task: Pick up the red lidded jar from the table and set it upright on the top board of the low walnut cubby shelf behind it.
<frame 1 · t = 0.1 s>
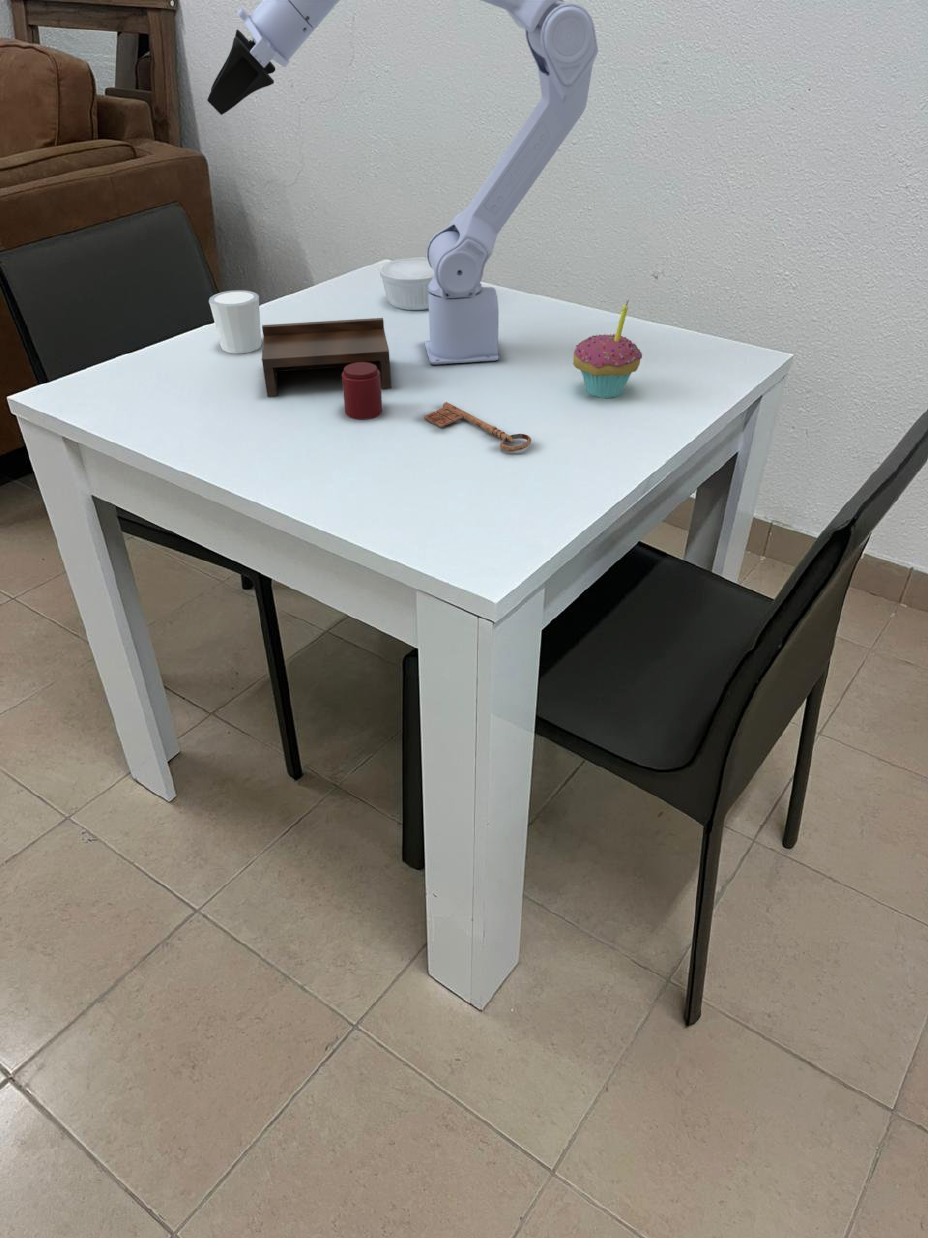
hand: (215, 101, 107), 32 cm above the table, tool tilted 50°, fingers open, 7 cm apart
ramekin: (416, 302, 147), on the table
white cup: (241, 347, 133), on the table
cupcake: (603, 392, 119), on the table
red lidded jar: (363, 411, 115), on the table
shelf: (328, 378, 123), on the table
key: (477, 432, 110), on the table
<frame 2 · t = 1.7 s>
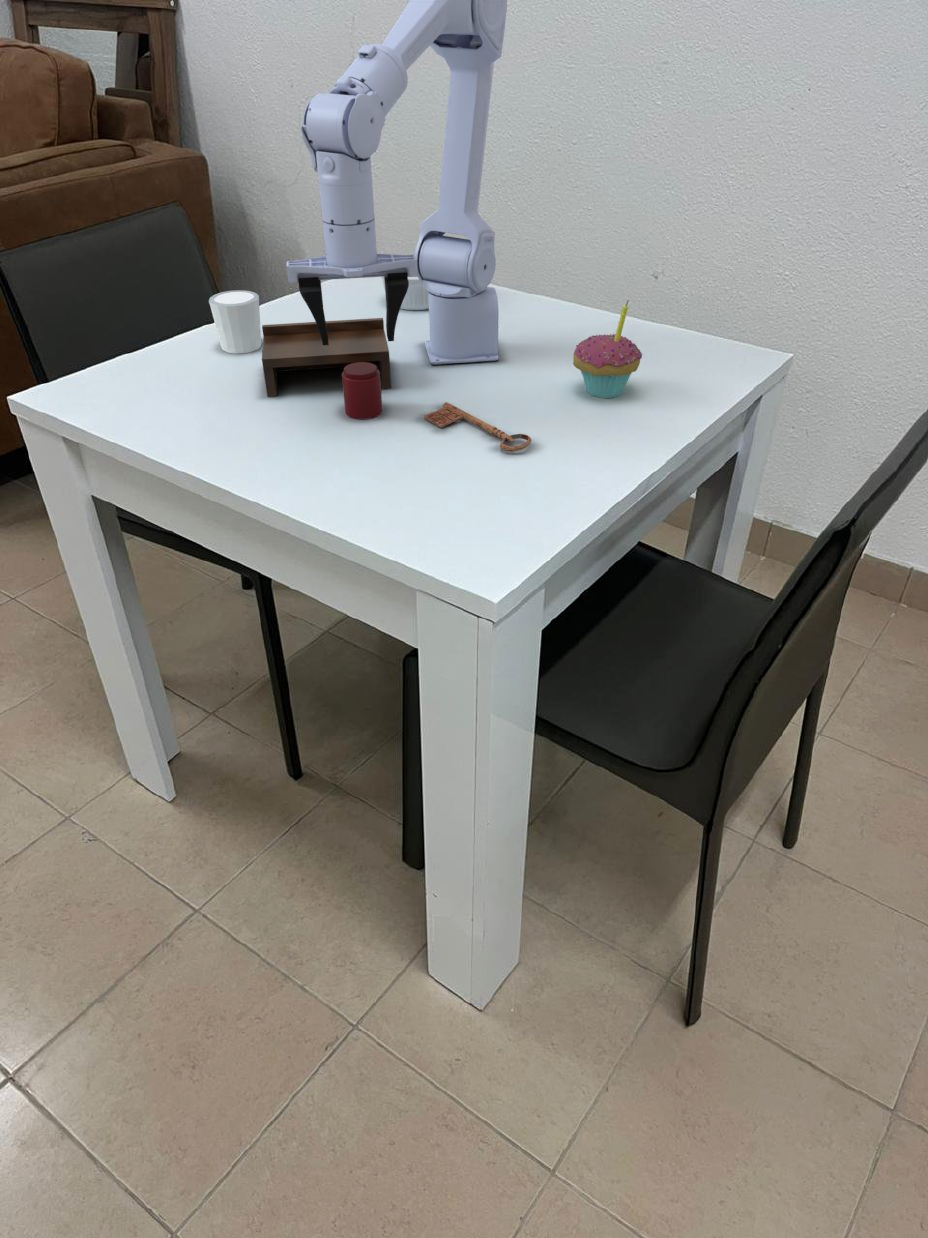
hand: (358, 340, 109), 9 cm above the table, tool pointing down, fingers open, 7 cm apart
nothing on the table moved.
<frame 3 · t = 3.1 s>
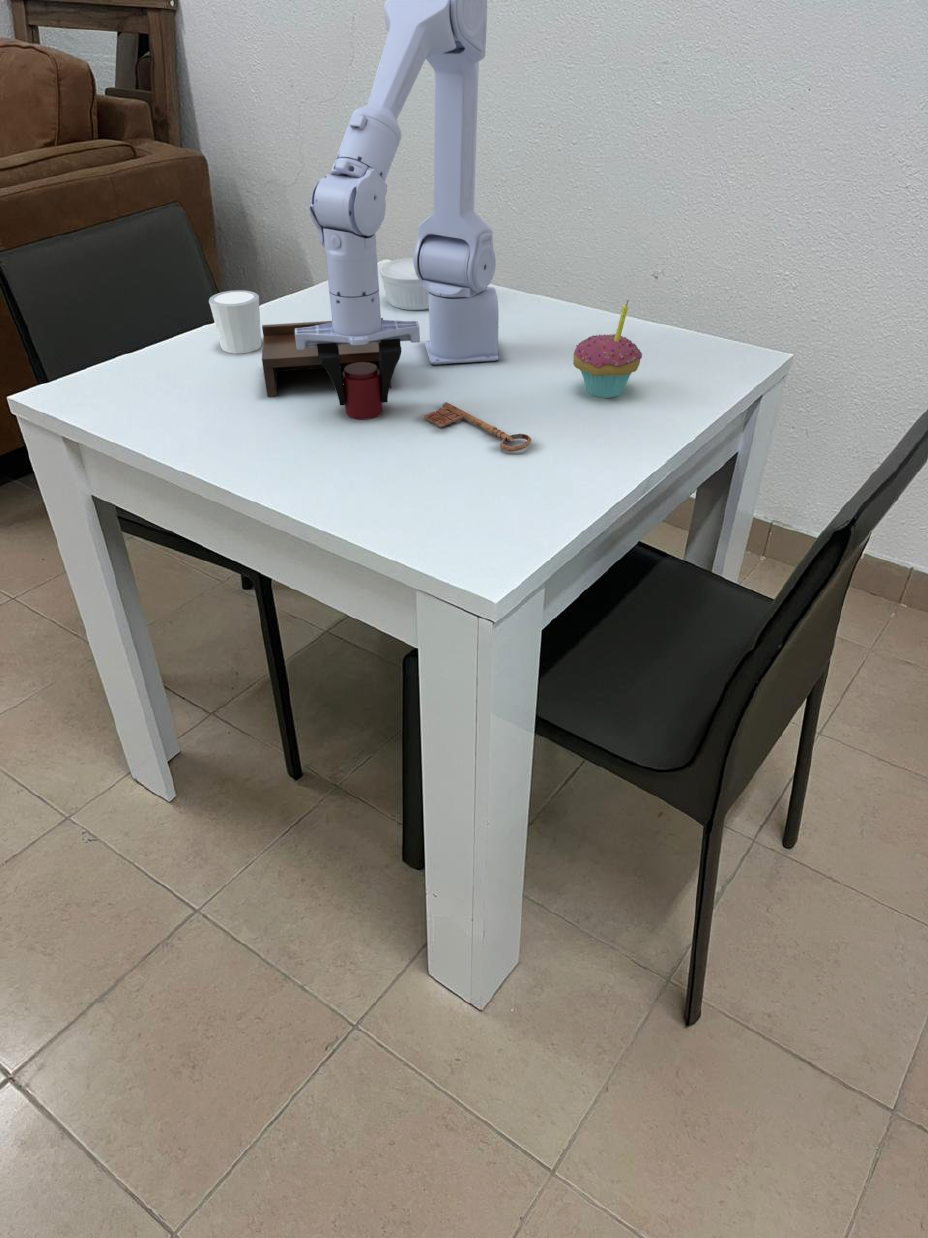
hand: (363, 400, 114), 1 cm above the table, tool pointing down, fingers closed on red lidded jar, 4 cm apart
red lidded jar: (364, 411, 115), on the table, touching gripper
everything else where it was.
when the fingers open (6 cm above the table, at t = 6.9 s): red lidded jar stays where it is, resting on shelf.
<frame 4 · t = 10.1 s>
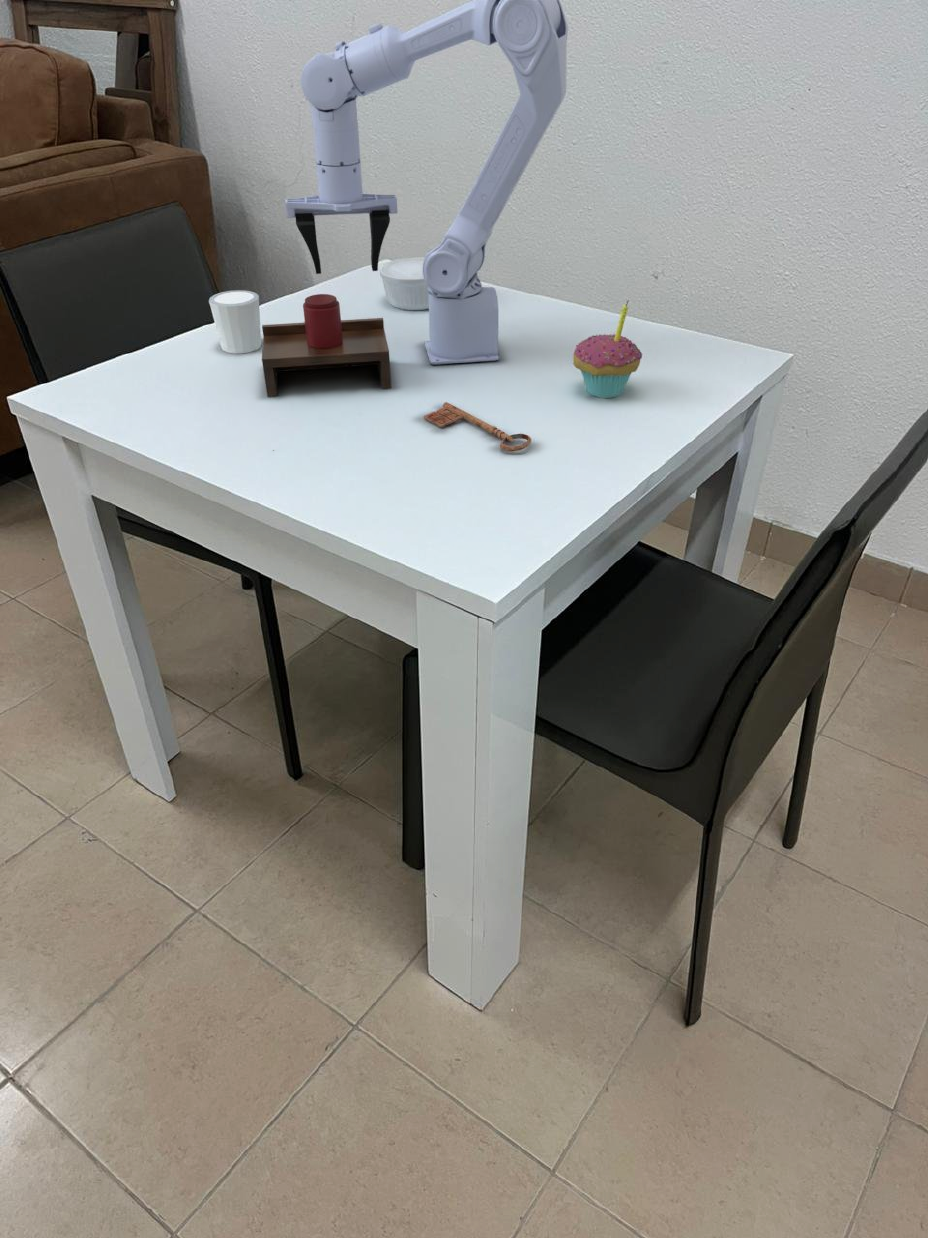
hand: (346, 270, 126), 10 cm above the table, tool pointing down, fingers open, 7 cm apart
red lidded jar: (325, 342, 120), point 5 cm above the table, touching shelf
everything else where it was.
at the end: red lidded jar inside the target area on the shelf (0.4 cm from its centre), point 5.0 cm above the shelf's base; red lidded jar tilted 0°; the gripper is holding nothing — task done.
